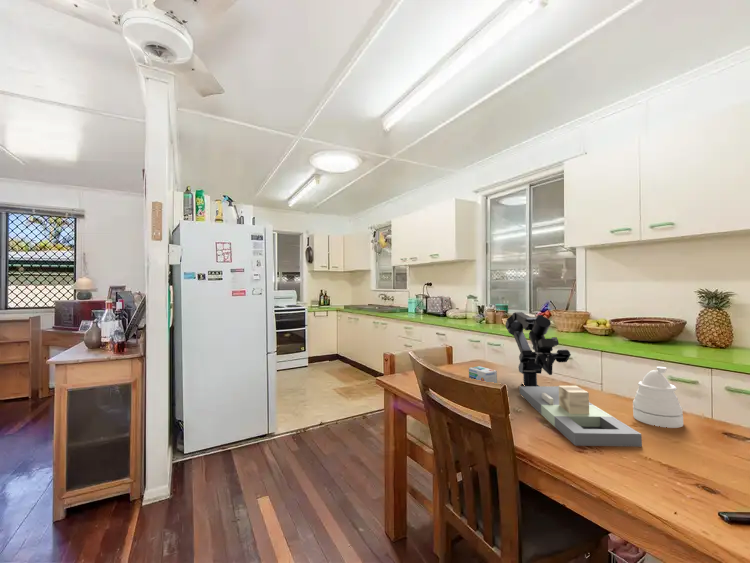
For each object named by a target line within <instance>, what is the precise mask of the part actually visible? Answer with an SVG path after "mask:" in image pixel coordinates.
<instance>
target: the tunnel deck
mask: <svg viewBox="0 0 750 563" xmlns="http://www.w3.org/2000/svg"><path fill="white" fill-rule="evenodd" d="M559 386H560V385H558V386H554V385H553V386H551V385H550V386H544V385H543V386H540V385H539V386H523V385H522V386H519V395H520V394H521V395H522V396H523V397H524V398H525V399H526V400H527V401H528V402H529V403H530V404H531V405H530V404H529V403H528V402H527V401H526V400H525V399H524V398H523V397H522V396H521V395H520V396H521V397H522V398H523V399H524V400H525V401H526V402H527V403H528V404H529V405H530V406H531V407H533V408H534V409H535V410H536V411H537V412H538V413H539V414H540V415H541V416H542V417H543V418H544V419H546V420H547V421H548V422H549V423H550V424H551V425H552V426H553V427H555V429H556V430H558V431H559V433H561V434H562V435H563V436H564V437H565V438H566V439H568V441H570V442H571V444H573V445H574V446H576V447H577V446H578V447H579V446H587V447H588V446H590V447H591V446H593V447H596V446H597V447H641V448H642V447H643V442H642V441H643V440H642V433H641V432H639V431H637V430H636V429H634V428H632V427H630V426H629V425H627V424H626V423H624V422H622V421H621V420H620V419H617V418H616V417H614V416H613V415H611V414H609V413H608V412H606V410H605V411H604V410H603V409H601V408H599V407H598V406H596V405H595V404H593V403H591V402H590V401H589V414H570V413H569V412H567V411H566V410H565V409H563V408H562V407H561V406H559Z"/></svg>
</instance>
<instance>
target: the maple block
mask: <svg viewBox="0 0 750 563" xmlns="http://www.w3.org/2000/svg"><path fill="white" fill-rule="evenodd" d="M558 386H559V406H561V407H562V408H563V409H565V410H566V411H567V412H569V413H570V414H589V402H590V398H589V392H588V391H587V390H585V389H583V388H581V386H580V387H579V386H578V385H558Z"/></svg>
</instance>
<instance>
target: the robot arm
mask: <svg viewBox="0 0 750 563" xmlns="http://www.w3.org/2000/svg"><path fill="white" fill-rule="evenodd" d="M550 326H551V320H550V319H549V318H547V317H545V316H544V314H538V315H537V316H536V317H533V316H532V317H531V316H529V315H527V314H525V312H520V311H519V312H518V311H516V312H515V311H514V312H512V314H511V316H509V317H508V318H507V319H506V322H505V329H507V330H506V331H507V332H508V333H509V334H510V335H512V336H513V337H514V340H515V342H516V345H517V347H518V350H519V352H520V354H519V356H518V357H519V358H518V360H519V364H518V372H519V373H520V374H522V376H523V377H522V378H523V379H522V380H523V381H522V382H523V383H524V385H525V386H540V385H538V375H537V374H542V371H543V370H544V371H545V372H546V373H547V375H549V376H552V375H553V364H554V363H555V362H558V363H567V362H568V360H569V359H570V357H571V355H572V354H571V351H570V350H568V349H558V350H557V351H556V352H553V350H554V349H553V348H555V347H556V346H558V345H560V343H559V339H558V338H557V337H556V336H554V337H551V338H550V337H549V338H546V336H545V335H546V334H547V333H548V330H549V329H550ZM524 330H525V331H529V333H528V339H529V340H530V342H531V345H532V347H530V345H529V342H528V340H527V339H526V336H525V334H524ZM531 348H532V349H531ZM533 350H534V351H533Z"/></svg>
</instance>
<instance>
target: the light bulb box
mask: <svg viewBox="0 0 750 563" xmlns="http://www.w3.org/2000/svg"><path fill="white" fill-rule="evenodd" d="M469 378H471V379H476V380H481V381H486V382H494V383H497V384H498V372H497V370H495V369H491V368H488V367H483V366H480V365H479V366H473V367H468V379H469Z"/></svg>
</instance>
